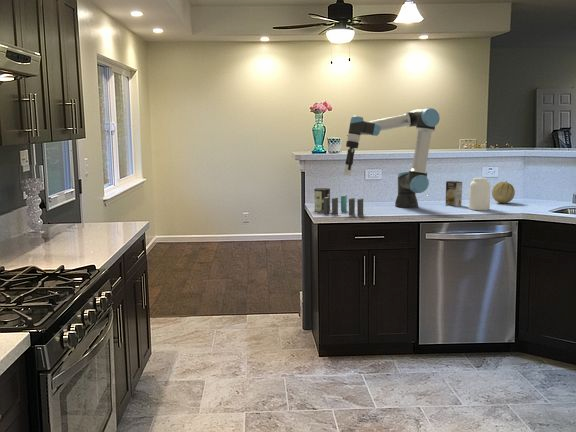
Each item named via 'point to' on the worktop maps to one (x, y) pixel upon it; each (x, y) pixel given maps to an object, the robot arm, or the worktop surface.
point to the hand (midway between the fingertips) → (346, 175)
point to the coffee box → (453, 193)
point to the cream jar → (479, 194)
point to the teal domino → (343, 203)
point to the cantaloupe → (503, 192)
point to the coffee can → (320, 198)
